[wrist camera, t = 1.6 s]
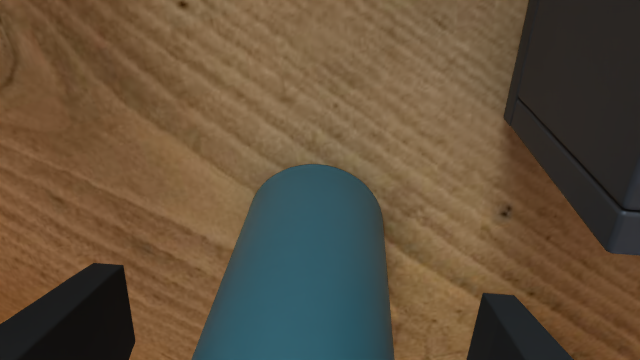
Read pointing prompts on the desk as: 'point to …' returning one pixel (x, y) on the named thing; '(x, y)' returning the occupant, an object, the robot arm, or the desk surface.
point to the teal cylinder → (304, 275)
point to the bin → (584, 109)
